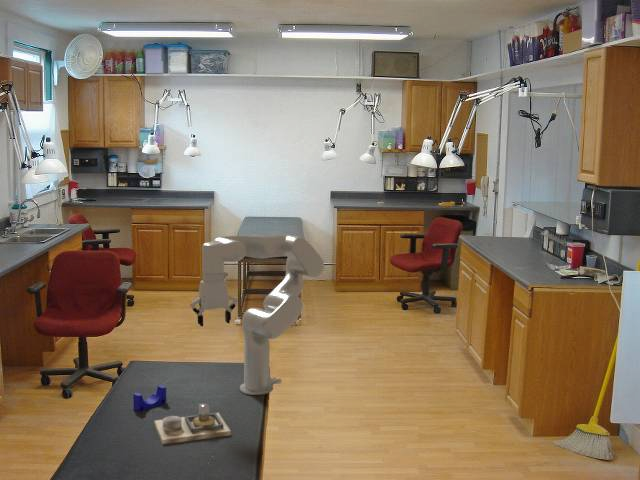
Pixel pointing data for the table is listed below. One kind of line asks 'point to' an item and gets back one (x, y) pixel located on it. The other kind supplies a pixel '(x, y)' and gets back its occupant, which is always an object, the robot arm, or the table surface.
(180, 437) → the carrier plate
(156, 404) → the cable clip
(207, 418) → the gold and silver knob
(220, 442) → the table surface
